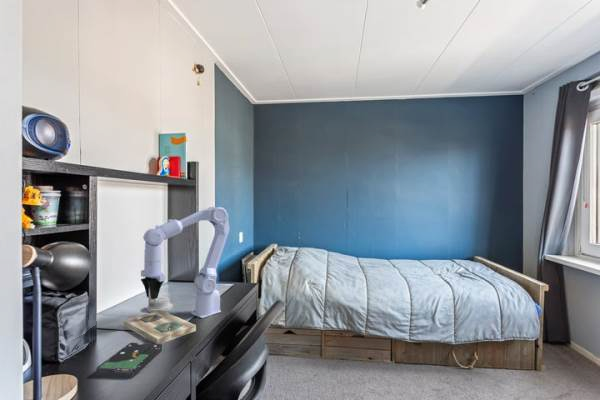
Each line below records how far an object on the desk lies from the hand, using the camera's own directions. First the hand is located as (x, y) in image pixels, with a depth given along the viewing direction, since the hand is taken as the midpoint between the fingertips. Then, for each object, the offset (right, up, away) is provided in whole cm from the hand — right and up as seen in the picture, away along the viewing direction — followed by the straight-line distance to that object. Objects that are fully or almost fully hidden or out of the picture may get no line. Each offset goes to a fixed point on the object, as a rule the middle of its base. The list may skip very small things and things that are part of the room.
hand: (152, 297), depth 113 cm
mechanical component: (-5, -11, +17) cm, 20 cm away
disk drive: (+7, -10, -27) cm, 30 cm away
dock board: (+4, -10, -4) cm, 11 cm away
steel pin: (0, -3, 0) cm, 3 cm away
